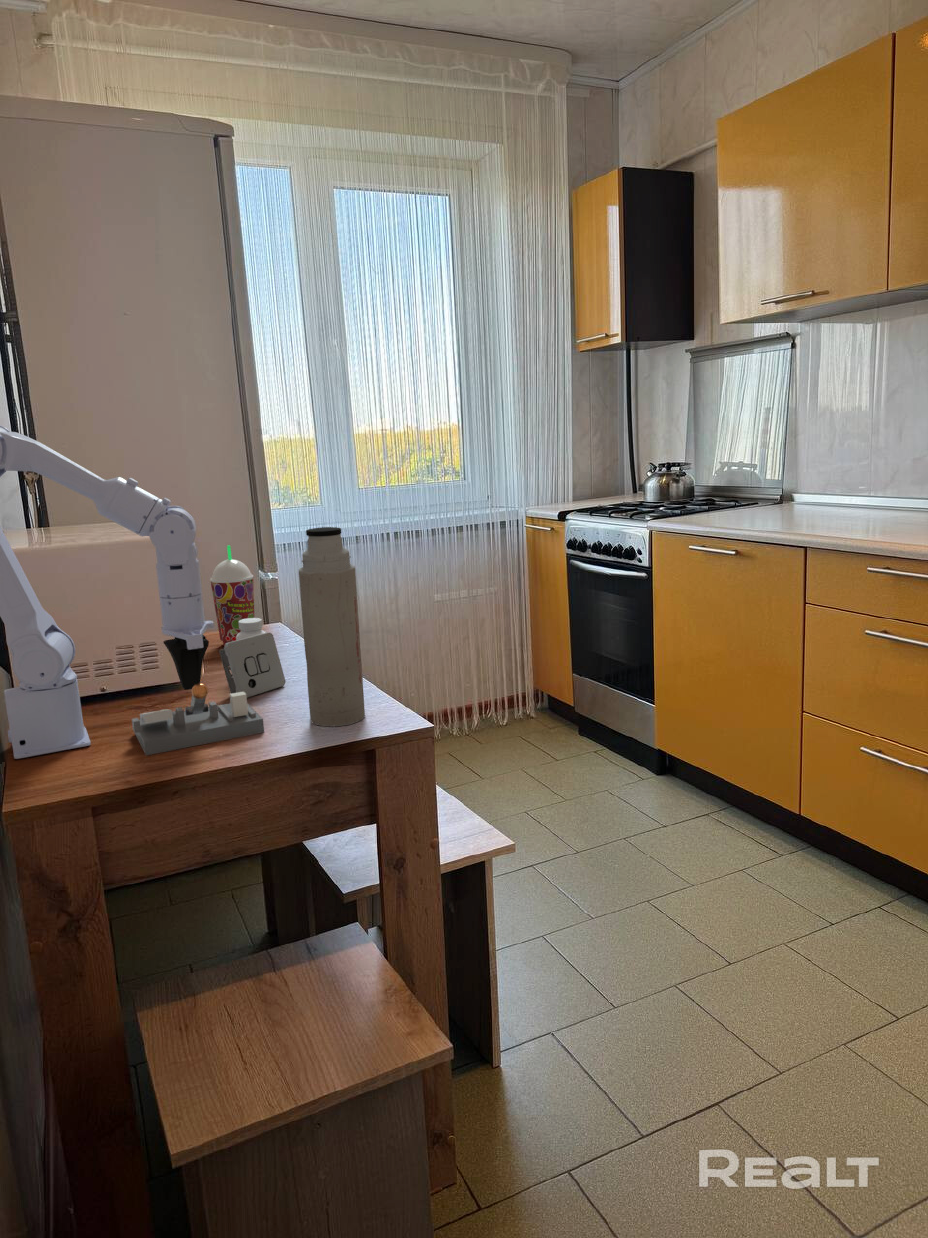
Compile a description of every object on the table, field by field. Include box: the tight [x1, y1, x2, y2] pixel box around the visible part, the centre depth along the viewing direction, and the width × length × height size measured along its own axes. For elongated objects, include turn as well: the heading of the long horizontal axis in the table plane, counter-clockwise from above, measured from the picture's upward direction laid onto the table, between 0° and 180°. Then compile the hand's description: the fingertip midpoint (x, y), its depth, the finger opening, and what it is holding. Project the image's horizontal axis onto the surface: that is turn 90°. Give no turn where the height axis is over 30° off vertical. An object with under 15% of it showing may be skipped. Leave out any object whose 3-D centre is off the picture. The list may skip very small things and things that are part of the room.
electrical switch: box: [218, 631, 287, 698], centre depth 143 cm, size 9×5×9 cm, turn 141°
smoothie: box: [209, 545, 256, 646], centre depth 173 cm, size 8×8×20 cm
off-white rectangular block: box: [229, 692, 248, 717], centre depth 124 cm, size 2×2×3 cm
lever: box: [184, 682, 209, 716], centre depth 121 cm, size 3×2×7 cm
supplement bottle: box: [236, 617, 267, 640], centre depth 152 cm, size 5×5×10 cm
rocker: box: [139, 709, 173, 723], centre depth 121 cm, size 4×6×1 cm, turn 28°
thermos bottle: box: [298, 526, 366, 728], centre depth 125 cm, size 8×8×28 cm
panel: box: [131, 701, 265, 756], centre depth 123 cm, size 17×10×4 cm, turn 118°
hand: (190, 687), depth 125 cm, fingers closed
